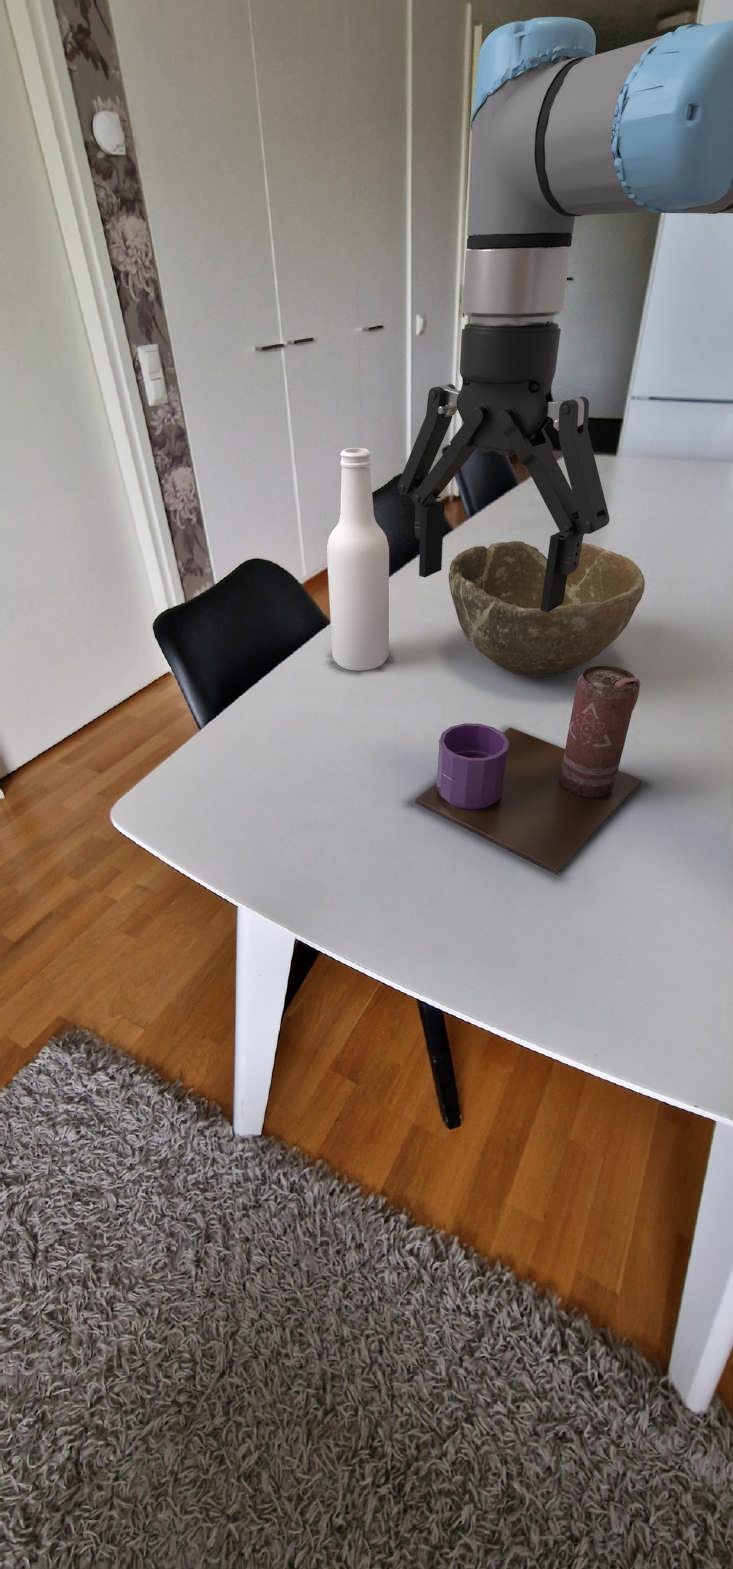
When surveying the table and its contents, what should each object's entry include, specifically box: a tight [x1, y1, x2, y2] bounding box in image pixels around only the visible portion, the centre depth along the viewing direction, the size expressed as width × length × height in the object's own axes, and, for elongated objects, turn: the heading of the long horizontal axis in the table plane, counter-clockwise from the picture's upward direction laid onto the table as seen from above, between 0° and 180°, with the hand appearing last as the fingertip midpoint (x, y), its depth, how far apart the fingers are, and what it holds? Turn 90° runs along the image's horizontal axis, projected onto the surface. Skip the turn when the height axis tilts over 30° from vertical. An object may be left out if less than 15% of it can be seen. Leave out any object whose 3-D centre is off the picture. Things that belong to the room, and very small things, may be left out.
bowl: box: [447, 540, 646, 678], centre depth 103 cm, size 28×27×15 cm
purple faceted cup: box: [436, 722, 509, 809], centre depth 79 cm, size 7×8×7 cm
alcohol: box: [326, 447, 390, 672], centre depth 101 cm, size 9×9×30 cm
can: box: [560, 665, 641, 798], centre depth 77 cm, size 6×6×14 cm
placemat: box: [414, 727, 643, 875], centre depth 81 cm, size 18×20×1 cm
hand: (487, 589), depth 66 cm, fingers open, 13 cm apart
